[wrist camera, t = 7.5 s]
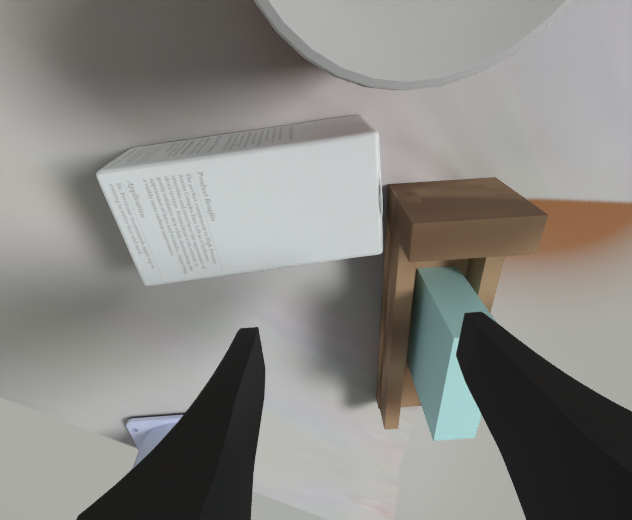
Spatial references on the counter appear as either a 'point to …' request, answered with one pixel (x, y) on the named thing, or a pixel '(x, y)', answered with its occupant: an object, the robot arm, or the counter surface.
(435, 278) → the door panel
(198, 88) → the counter surface
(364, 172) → the skincare box
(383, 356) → the track
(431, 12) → the canned food
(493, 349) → the robot arm
